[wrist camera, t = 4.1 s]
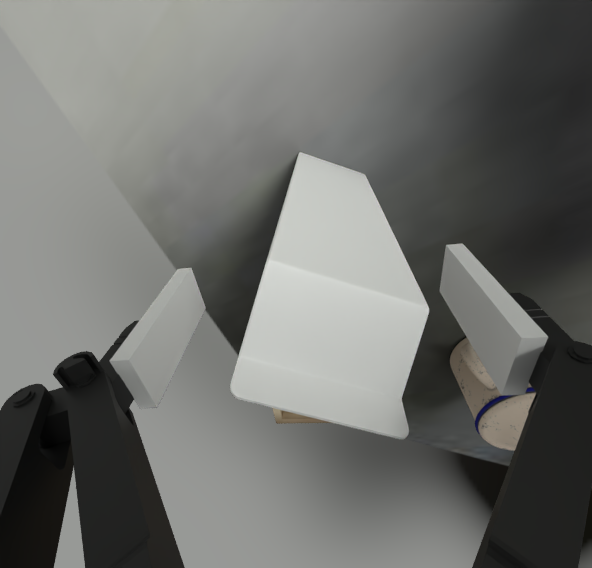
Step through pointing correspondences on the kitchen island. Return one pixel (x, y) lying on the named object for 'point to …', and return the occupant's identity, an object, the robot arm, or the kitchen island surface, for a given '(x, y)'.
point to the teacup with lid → (489, 399)
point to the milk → (333, 308)
